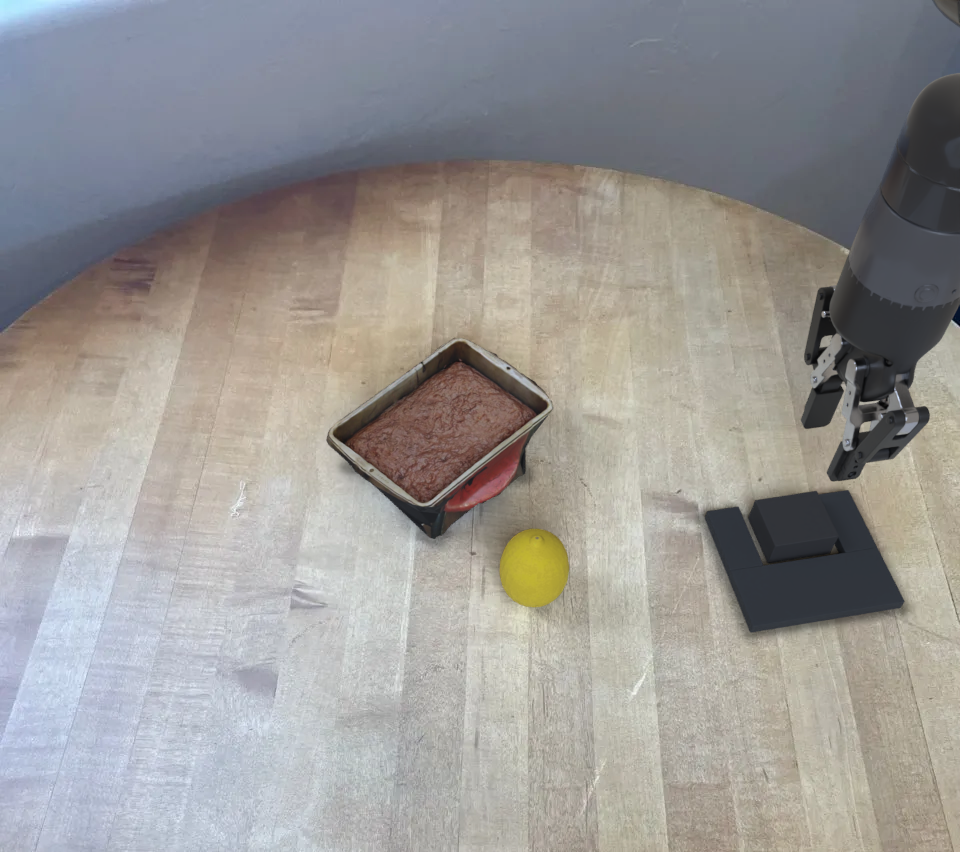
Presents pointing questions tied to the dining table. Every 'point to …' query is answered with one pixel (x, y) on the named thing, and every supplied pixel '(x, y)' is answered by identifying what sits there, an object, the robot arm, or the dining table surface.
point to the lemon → (534, 568)
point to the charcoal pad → (806, 572)
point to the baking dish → (444, 434)
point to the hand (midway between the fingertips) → (827, 449)
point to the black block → (792, 527)
